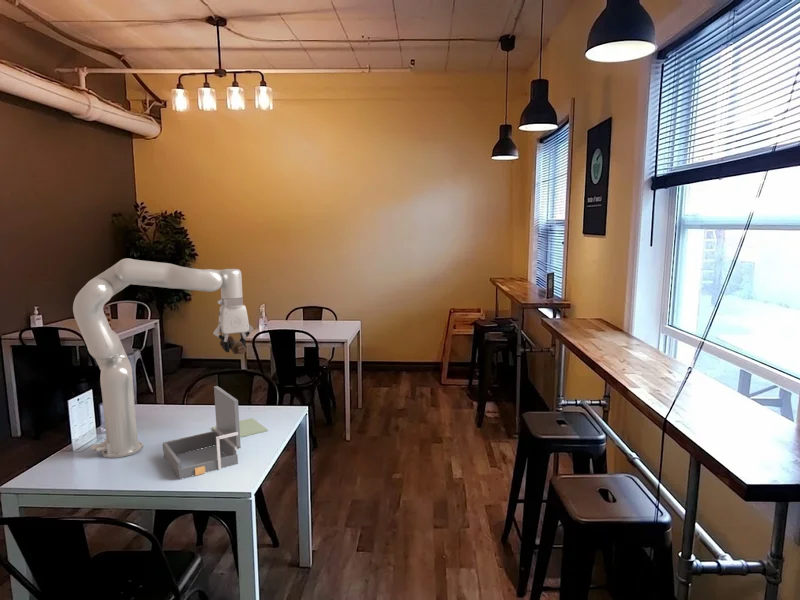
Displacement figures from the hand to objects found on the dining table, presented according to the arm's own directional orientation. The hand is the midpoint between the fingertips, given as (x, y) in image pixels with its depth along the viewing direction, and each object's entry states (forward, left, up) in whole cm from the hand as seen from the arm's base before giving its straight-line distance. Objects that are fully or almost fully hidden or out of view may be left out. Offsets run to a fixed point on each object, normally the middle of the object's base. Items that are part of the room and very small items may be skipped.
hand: (234, 350), depth 199 cm
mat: (0, 0, -31) cm, 31 cm away
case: (-20, -19, -31) cm, 41 cm away
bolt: (0, 0, -1) cm, 1 cm away
